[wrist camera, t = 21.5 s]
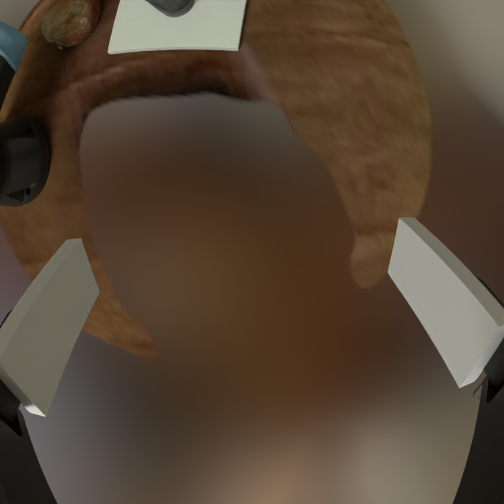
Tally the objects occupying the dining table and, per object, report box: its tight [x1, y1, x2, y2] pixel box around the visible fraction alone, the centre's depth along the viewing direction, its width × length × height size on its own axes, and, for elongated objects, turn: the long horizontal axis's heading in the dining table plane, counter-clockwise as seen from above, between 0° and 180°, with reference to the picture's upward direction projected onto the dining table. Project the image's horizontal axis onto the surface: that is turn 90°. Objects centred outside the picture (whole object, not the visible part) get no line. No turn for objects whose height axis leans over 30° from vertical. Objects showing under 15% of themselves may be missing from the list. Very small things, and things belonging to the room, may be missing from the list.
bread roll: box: [41, 0, 101, 49], centre depth 26 cm, size 10×10×8 cm
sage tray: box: [108, 0, 247, 54], centre depth 28 cm, size 18×15×1 cm
